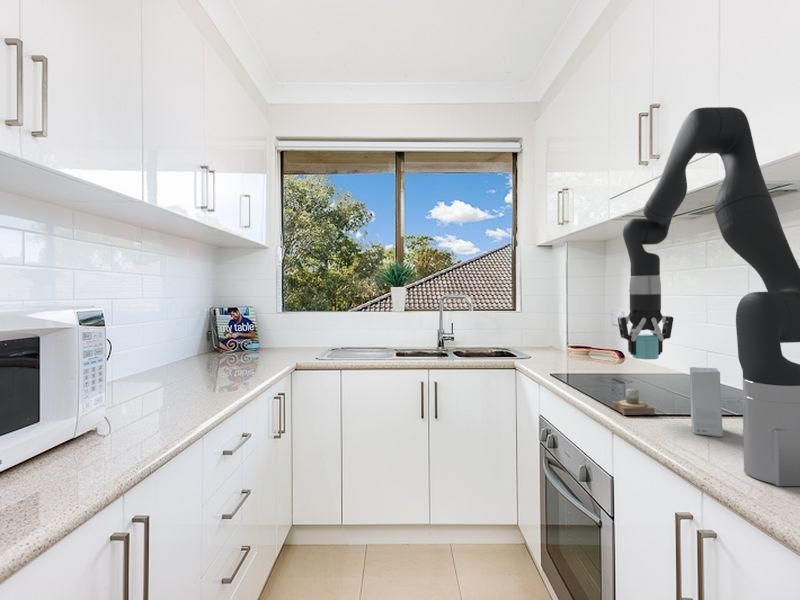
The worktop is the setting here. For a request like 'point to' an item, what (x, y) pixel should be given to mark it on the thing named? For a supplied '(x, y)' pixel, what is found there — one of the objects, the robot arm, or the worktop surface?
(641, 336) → the cap
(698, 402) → the skincare box
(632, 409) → the board
